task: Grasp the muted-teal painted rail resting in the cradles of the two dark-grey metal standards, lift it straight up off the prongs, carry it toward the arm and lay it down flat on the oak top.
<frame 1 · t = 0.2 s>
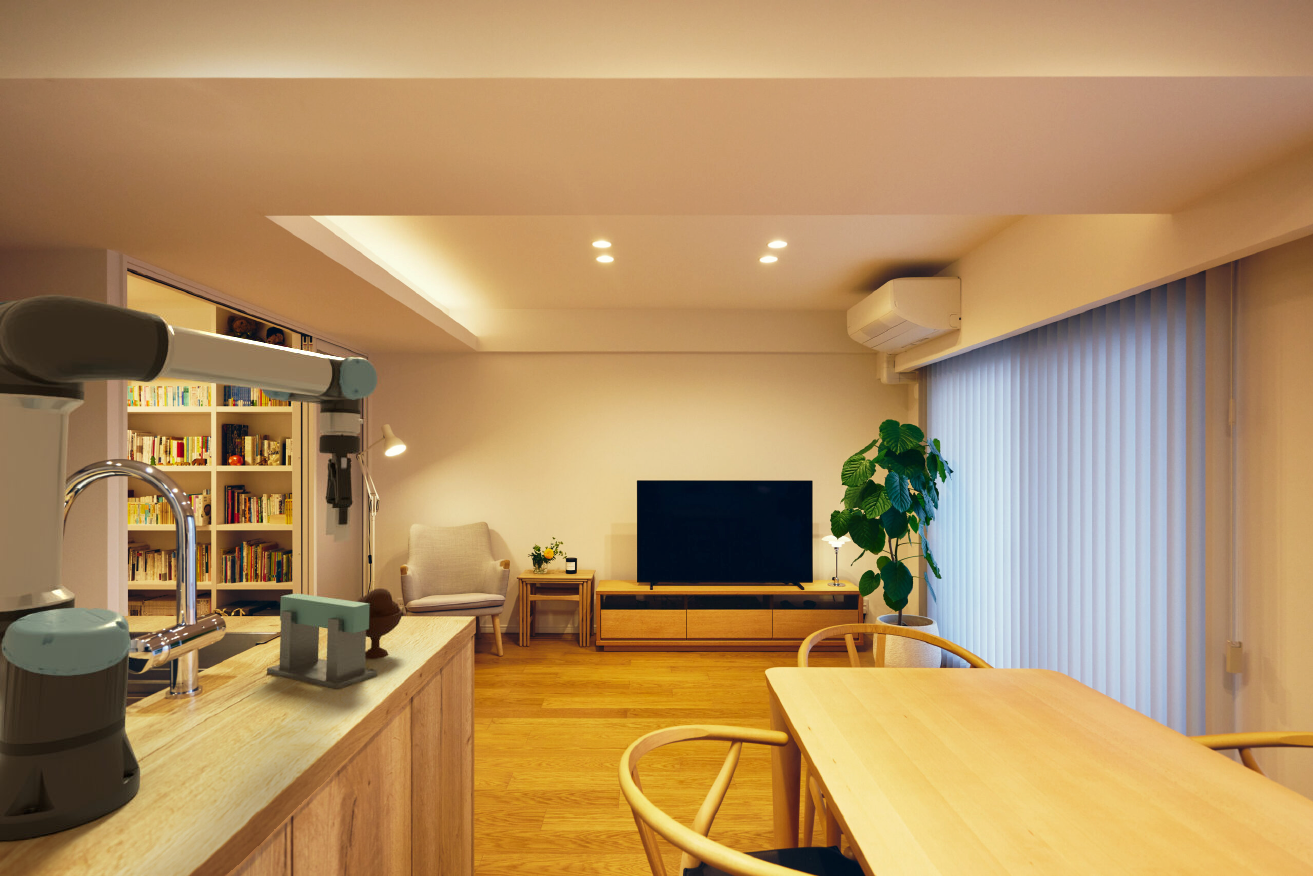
hand: (337, 538, 130), 28 cm above the table, fingers open, 13 cm apart
hook standards: (321, 674, 129), on the table
ice cream bowl: (375, 656, 142), on the table
rail: (323, 624, 130), point 10 cm above the table, touching hook standards
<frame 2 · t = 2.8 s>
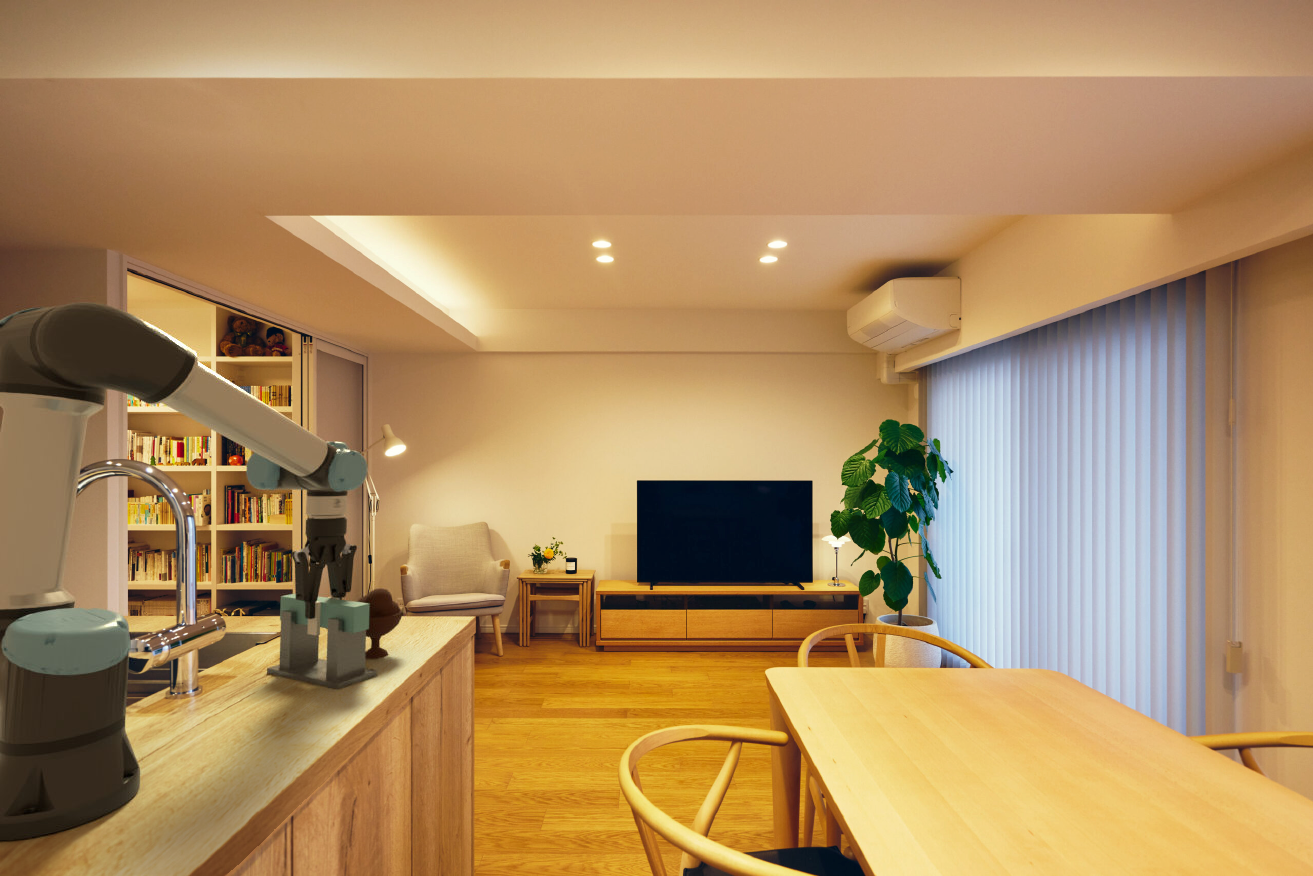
hand: (323, 631, 130), 9 cm above the table, fingers closed on rail, 3 cm apart
rail: (323, 624, 130), point 10 cm above the table, touching gripper, hook standards
everything else where it was.
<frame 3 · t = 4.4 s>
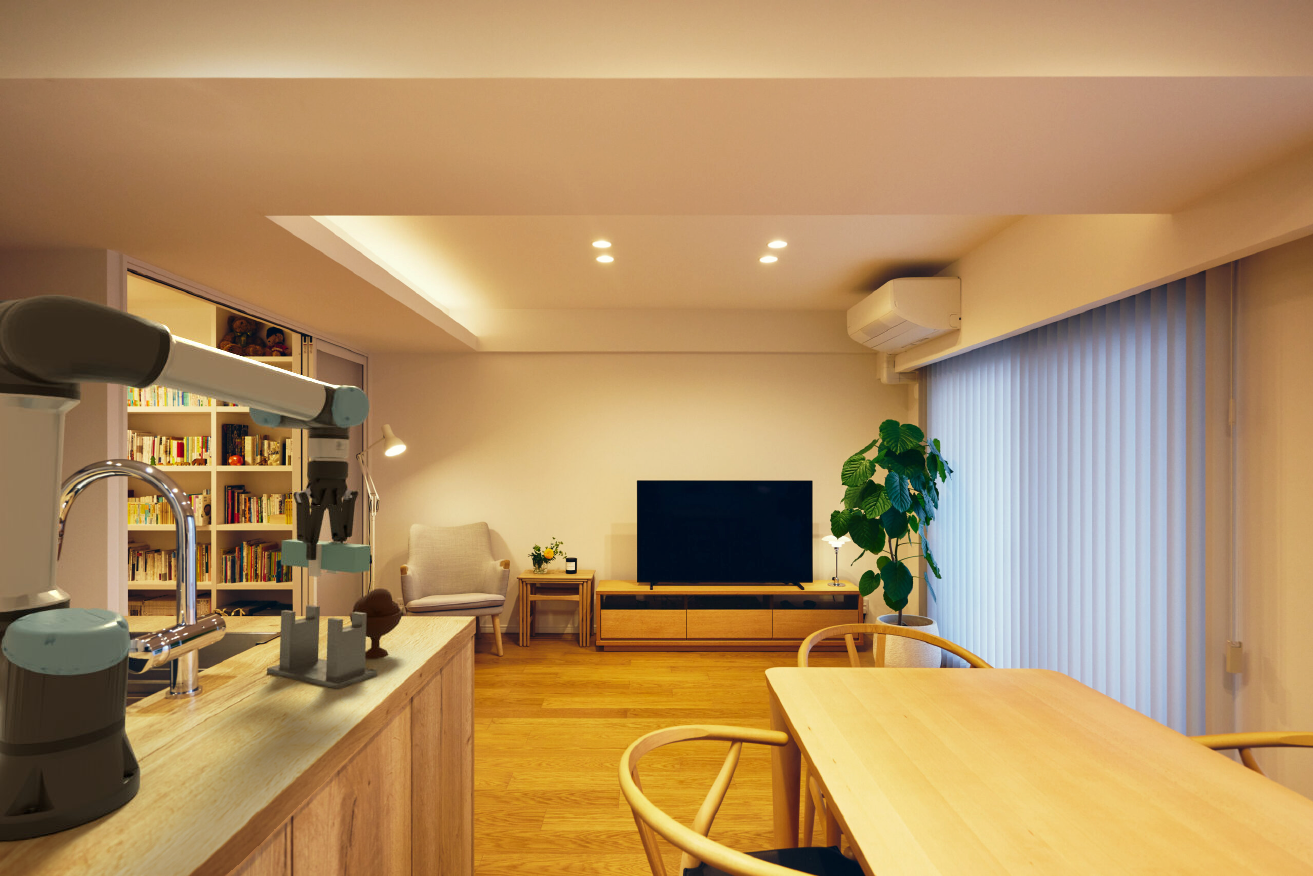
hand: (323, 574, 130), 20 cm above the table, fingers closed on rail, 3 cm apart
rail: (324, 567, 130), point 22 cm above the table, touching gripper
everything else where it was.
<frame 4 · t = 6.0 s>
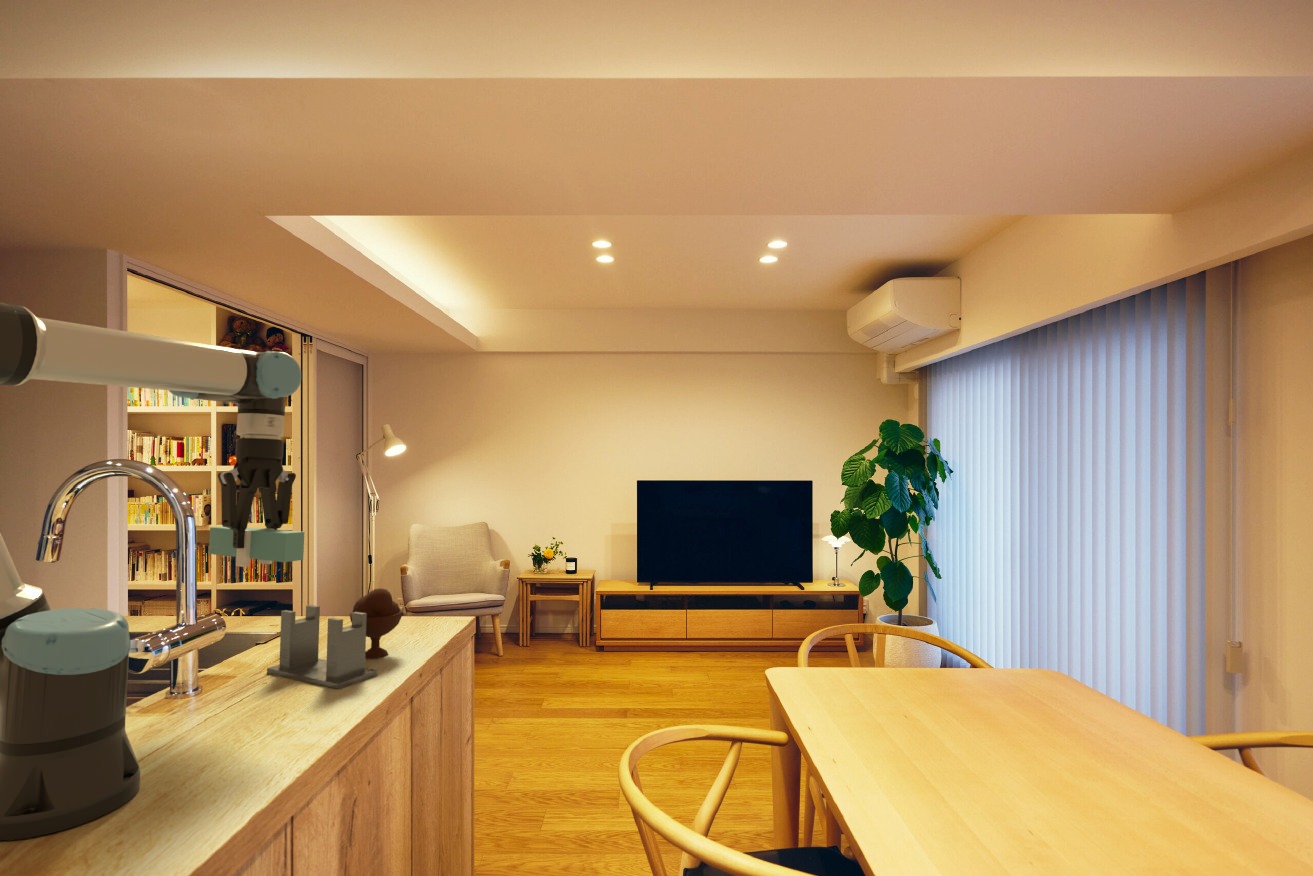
hand: (254, 564, 117), 24 cm above the table, fingers closed on rail, 3 cm apart
rail: (254, 556, 117), point 26 cm above the table, touching gripper
everything else where it was.
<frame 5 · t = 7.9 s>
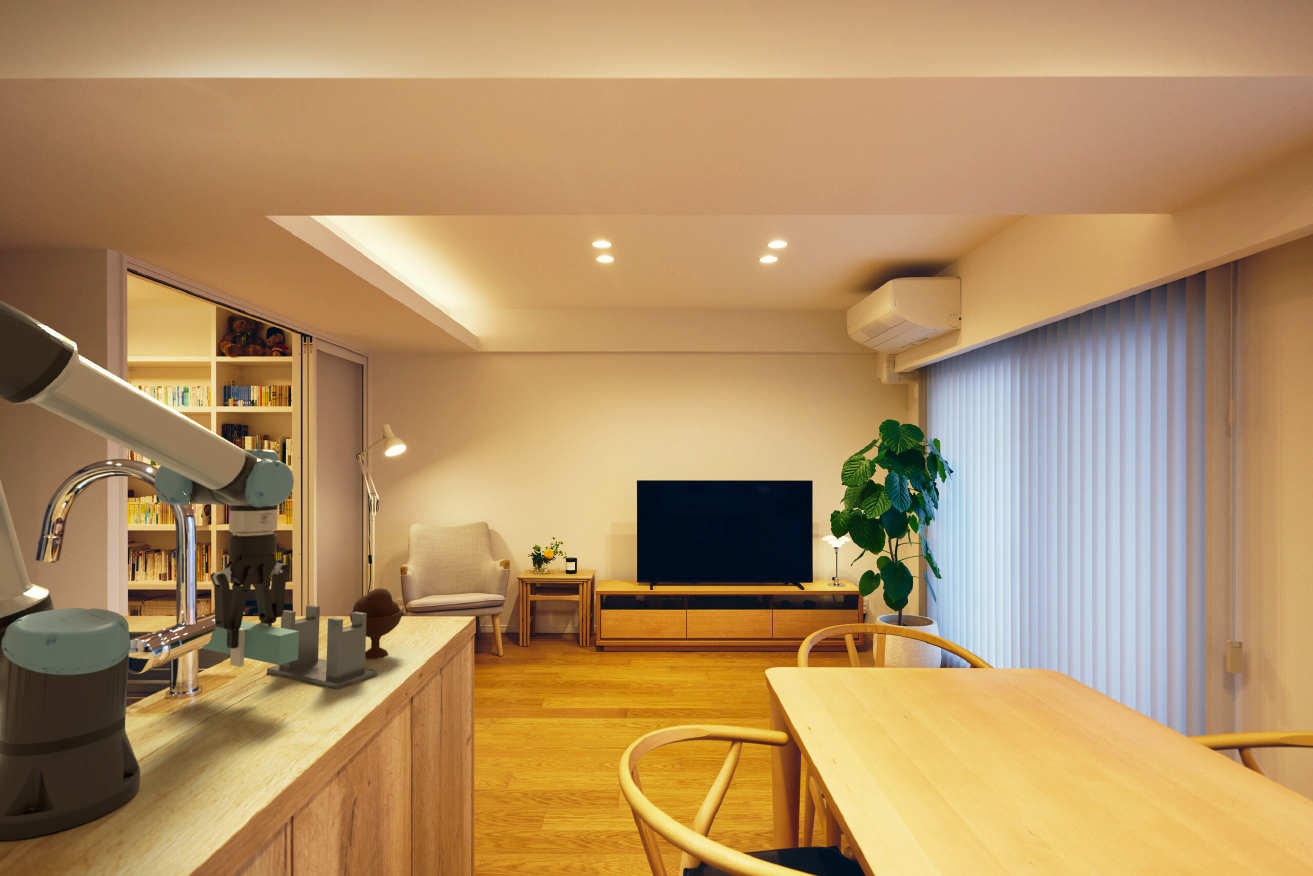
hand: (248, 661, 116), 7 cm above the table, fingers closed on rail, 3 cm apart
rail: (249, 653, 116), point 8 cm above the table, touching gripper
everything else where it was.
when the fingers open (1 cm above the table, at t = 9.3 s): rail drops 3 cm, on the table.
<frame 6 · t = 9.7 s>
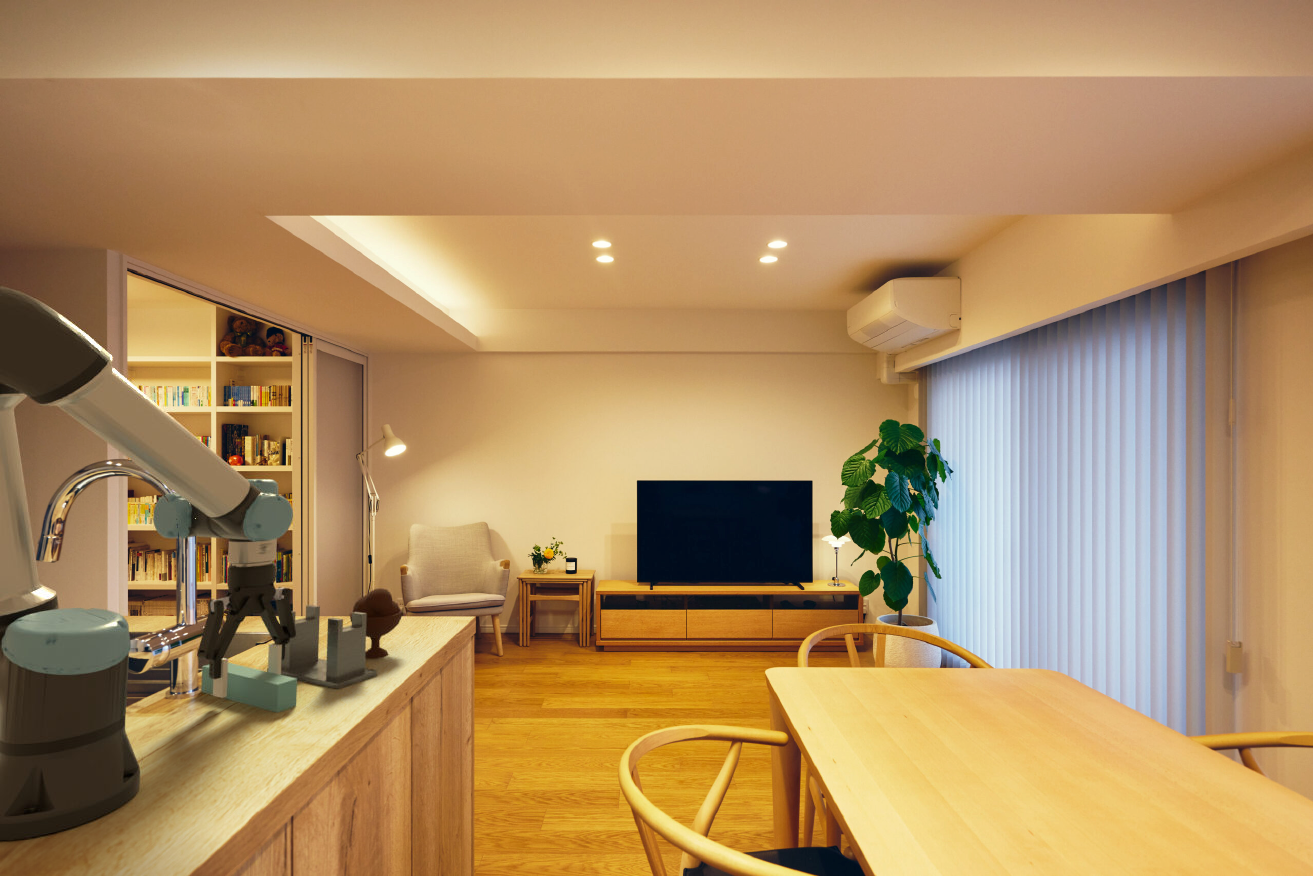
hand: (247, 687, 116), 2 cm above the table, fingers open, 9 cm apart
rail: (247, 700, 116), on the table
everything else where it was.
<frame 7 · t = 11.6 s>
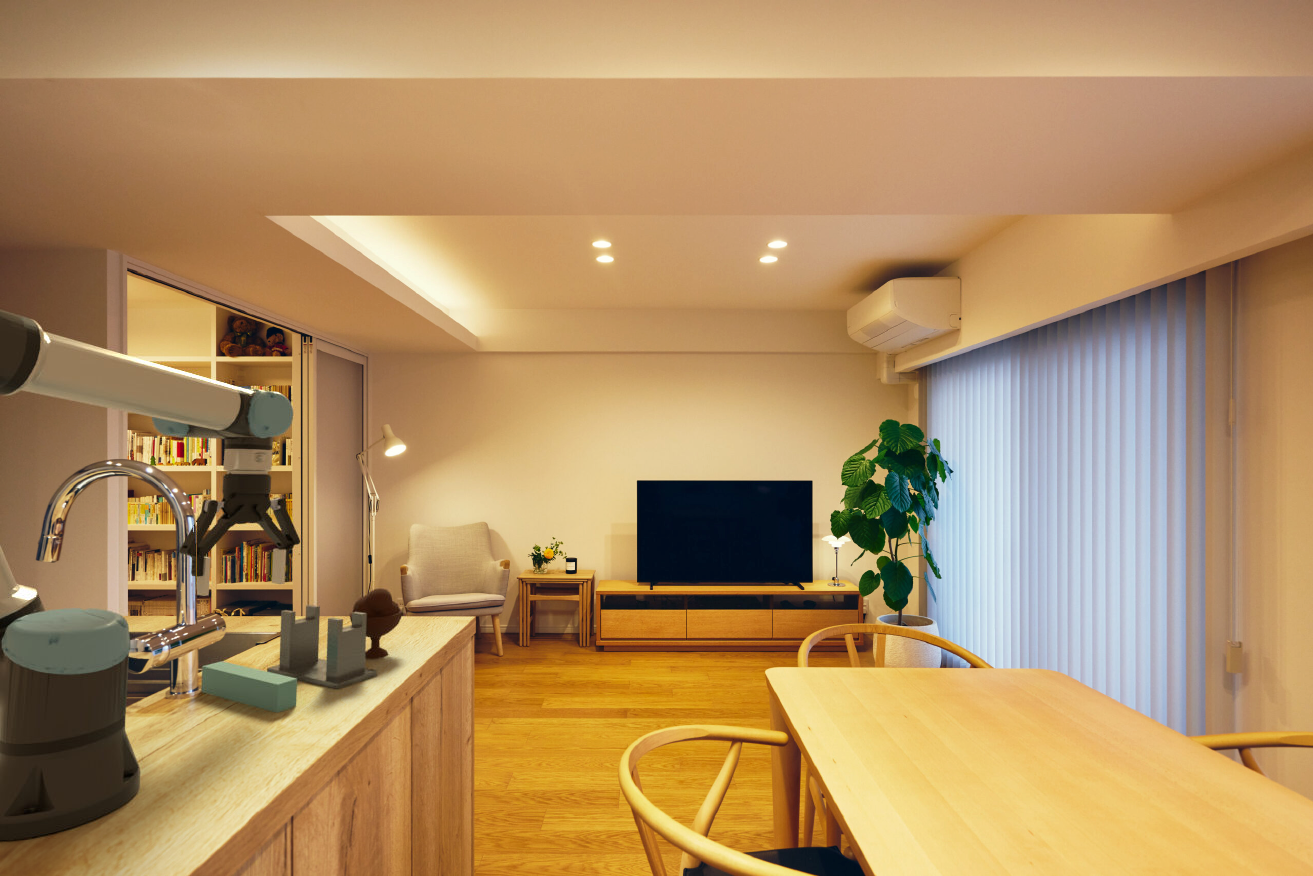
hand: (241, 589, 116), 20 cm above the table, fingers open, 13 cm apart
nothing on the table moved.
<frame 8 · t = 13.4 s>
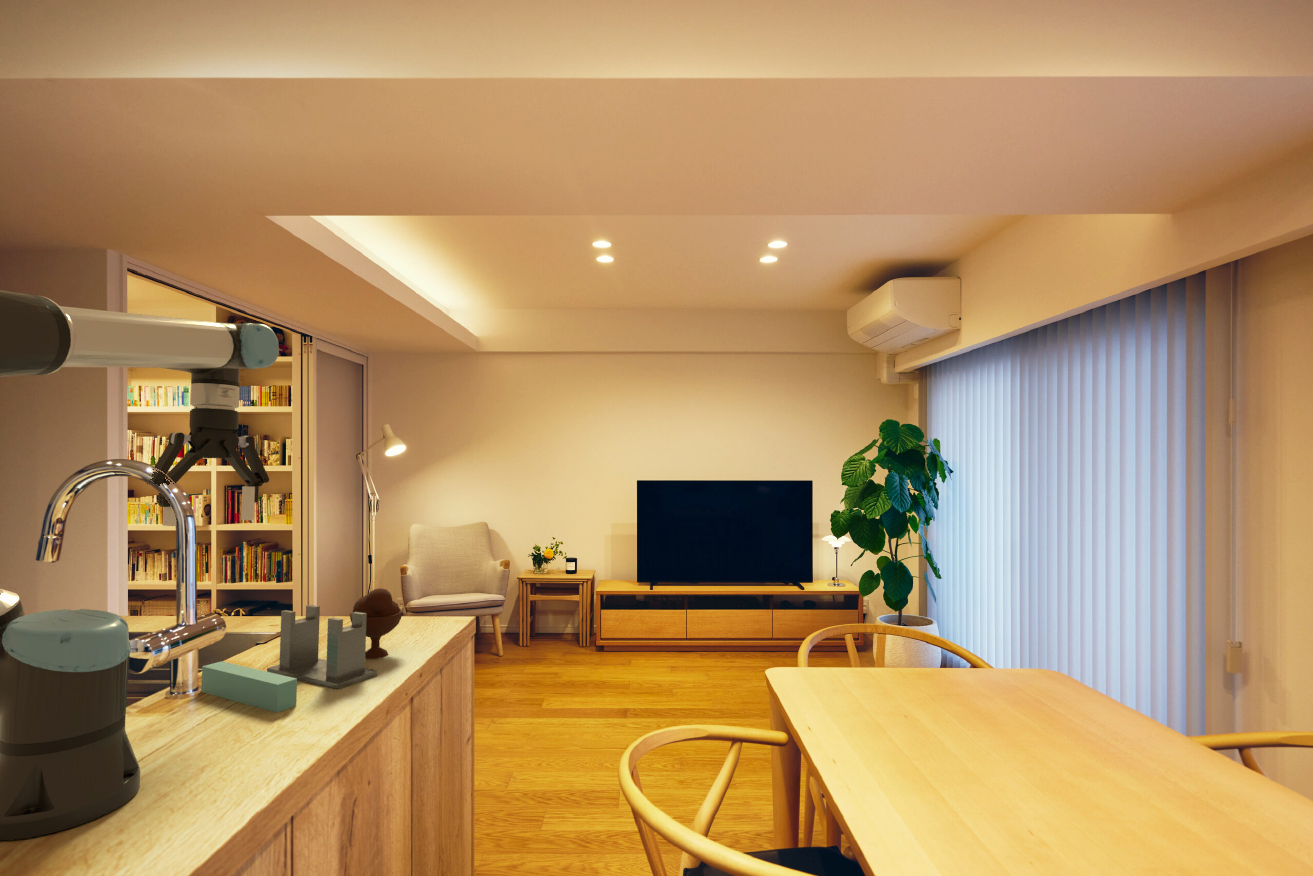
hand: (210, 522, 118), 32 cm above the table, fingers open, 13 cm apart
nothing on the table moved.
at the end: rail inside the target area (0.0 cm from its centre), on the table; rail touching table; the gripper is holding nothing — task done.
